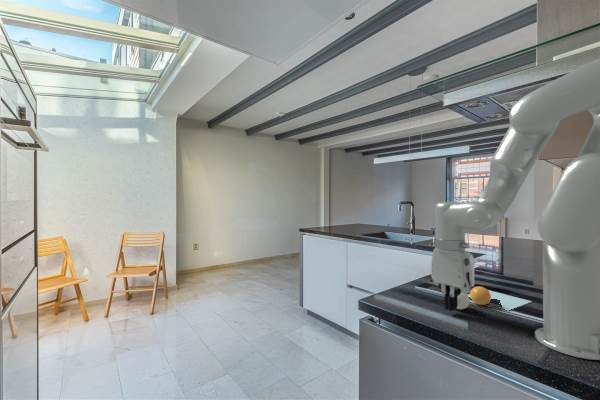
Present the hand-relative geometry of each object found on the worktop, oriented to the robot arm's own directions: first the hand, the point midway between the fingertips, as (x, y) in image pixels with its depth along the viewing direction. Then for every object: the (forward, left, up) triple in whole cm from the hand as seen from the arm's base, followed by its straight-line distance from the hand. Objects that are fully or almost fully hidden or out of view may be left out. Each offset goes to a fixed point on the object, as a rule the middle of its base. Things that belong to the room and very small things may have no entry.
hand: (450, 309), depth 82 cm
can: (+14, -29, -2) cm, 32 cm away
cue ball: (+1, -6, +1) cm, 6 cm away
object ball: (0, -14, +1) cm, 14 cm away
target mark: (0, -23, -2) cm, 23 cm away
